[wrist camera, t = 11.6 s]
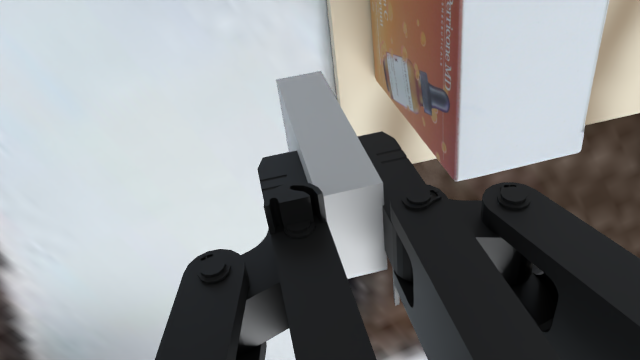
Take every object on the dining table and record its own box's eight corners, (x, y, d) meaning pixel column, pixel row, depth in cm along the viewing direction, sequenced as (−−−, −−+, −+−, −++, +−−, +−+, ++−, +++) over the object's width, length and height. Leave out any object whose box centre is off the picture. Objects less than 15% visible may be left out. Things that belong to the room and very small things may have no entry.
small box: (361, -74, 24) (460, -28, 15) (473, -95, 24) (630, -61, 16) (372, 83, 28) (453, 187, 20) (466, 62, 29) (584, 155, 20)
